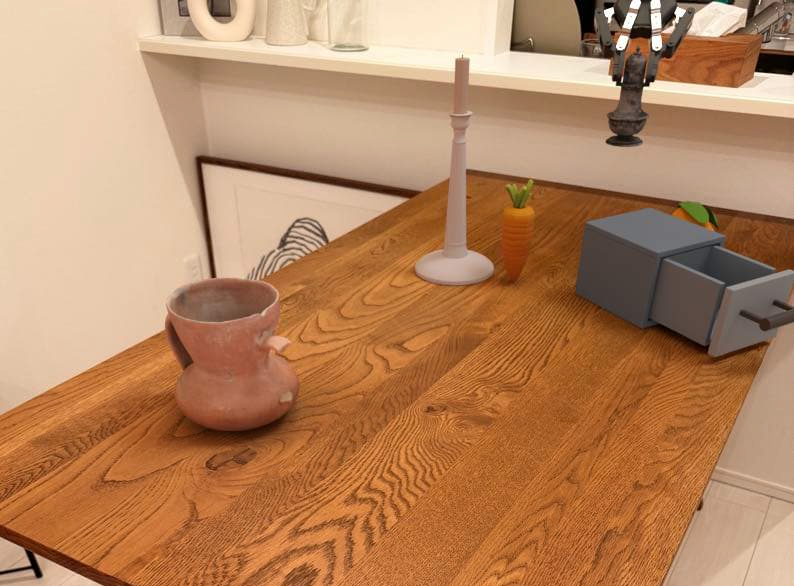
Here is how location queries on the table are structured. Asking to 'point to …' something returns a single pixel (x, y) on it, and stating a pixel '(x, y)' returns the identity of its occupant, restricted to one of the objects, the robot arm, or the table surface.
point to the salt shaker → (629, 104)
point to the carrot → (517, 230)
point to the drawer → (721, 298)
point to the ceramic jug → (229, 354)
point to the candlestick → (456, 205)
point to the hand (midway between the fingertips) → (633, 82)
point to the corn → (696, 214)
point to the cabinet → (633, 259)
